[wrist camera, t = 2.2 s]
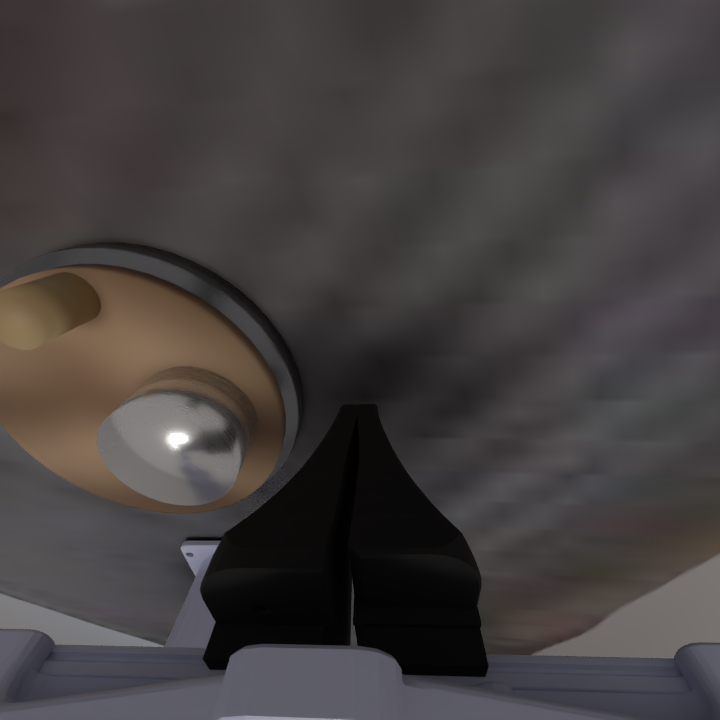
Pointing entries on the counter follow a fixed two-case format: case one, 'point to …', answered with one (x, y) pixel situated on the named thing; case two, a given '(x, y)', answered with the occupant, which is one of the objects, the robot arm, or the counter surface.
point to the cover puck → (180, 436)
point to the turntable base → (208, 290)
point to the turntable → (118, 369)
